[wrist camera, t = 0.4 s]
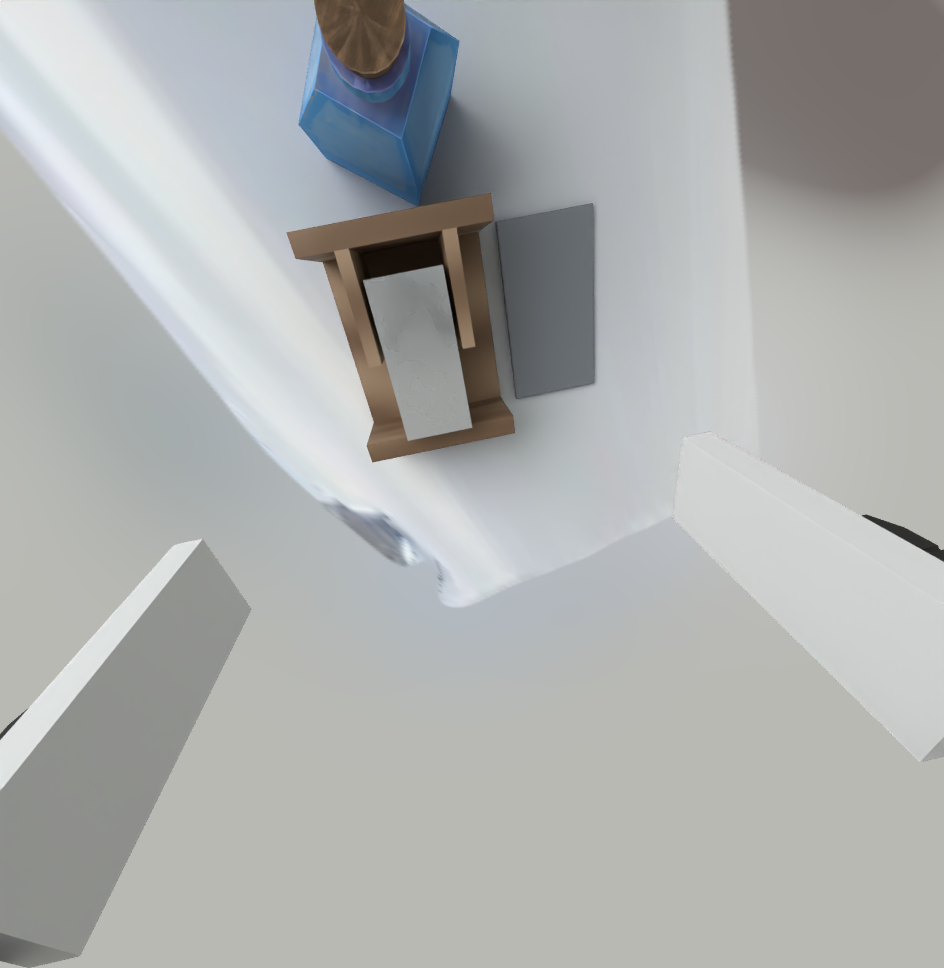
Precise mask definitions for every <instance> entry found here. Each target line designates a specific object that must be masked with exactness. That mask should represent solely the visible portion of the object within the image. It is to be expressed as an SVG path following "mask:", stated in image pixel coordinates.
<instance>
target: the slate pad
mask: <svg viewBox="0 0 944 968" xmlns="http://www.w3.org/2000/svg"><path fill="white" fill-rule="evenodd" d="M496 227H497V236H498V245H499V254H500V263H501V271H502V280H503V289H504V298H505V307H506V316H507V324H508V333H509V342H510V351H511V360H512V368H513V377H514V386H515V395H516V398H517V399H519V398H523V397H528V396H533V395H538V394H543V393H548V392H553V391H558V390H562V389H567V388H572V387H577V386H582V385H587V384H592V383H594V278H593V203H591V204H586V205H581V206H575V207H570V208H565V209H560V210H555V211H550V212H545V213H540V214H534V215H529V216H524V217H519V218H514V219H509V220H504V221H499V222H496Z"/></svg>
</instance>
